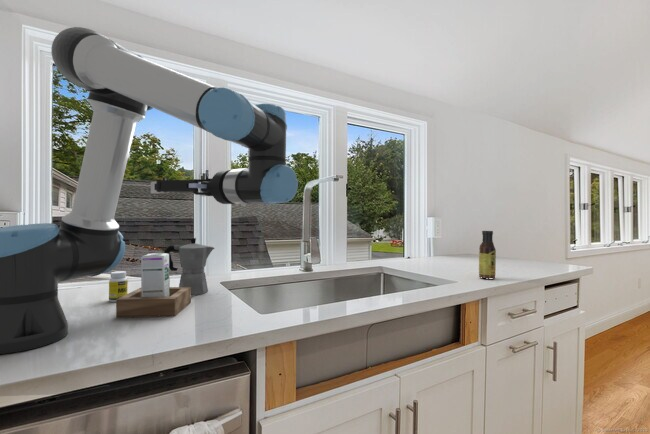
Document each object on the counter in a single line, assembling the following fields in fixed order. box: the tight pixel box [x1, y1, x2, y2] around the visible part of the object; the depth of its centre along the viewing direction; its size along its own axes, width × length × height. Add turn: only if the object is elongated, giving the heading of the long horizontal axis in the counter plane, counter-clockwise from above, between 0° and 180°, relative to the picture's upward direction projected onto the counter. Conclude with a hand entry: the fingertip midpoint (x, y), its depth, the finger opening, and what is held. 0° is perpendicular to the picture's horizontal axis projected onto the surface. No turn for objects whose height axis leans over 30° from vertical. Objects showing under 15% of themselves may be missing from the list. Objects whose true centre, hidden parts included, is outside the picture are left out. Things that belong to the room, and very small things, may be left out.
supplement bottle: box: [108, 270, 129, 303], centre depth 103 cm, size 5×5×8 cm
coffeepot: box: [163, 237, 215, 296], centre depth 114 cm, size 15×9×18 cm, turn 108°
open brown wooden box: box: [115, 286, 192, 319], centre depth 94 cm, size 14×14×4 cm
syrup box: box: [140, 252, 171, 297], centre depth 93 cm, size 6×6×14 cm
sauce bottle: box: [478, 230, 497, 279], centre depth 144 cm, size 7×6×20 cm
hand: (178, 189), depth 88 cm, fingers open, 13 cm apart
